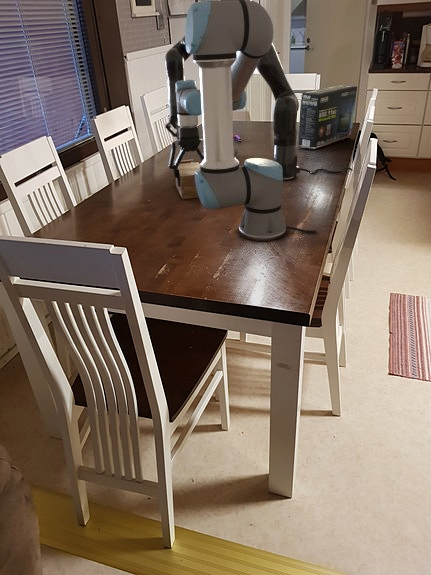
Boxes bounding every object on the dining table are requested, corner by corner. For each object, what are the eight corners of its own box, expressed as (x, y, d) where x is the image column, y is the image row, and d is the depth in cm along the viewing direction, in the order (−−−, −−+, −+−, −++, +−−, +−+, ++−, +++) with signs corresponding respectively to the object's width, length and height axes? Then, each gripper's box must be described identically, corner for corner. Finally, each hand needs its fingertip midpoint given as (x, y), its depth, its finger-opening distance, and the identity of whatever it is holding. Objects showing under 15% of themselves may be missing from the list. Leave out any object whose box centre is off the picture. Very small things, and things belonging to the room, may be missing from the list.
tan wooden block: (176, 186, 192) (174, 164, 188) (199, 183, 194) (198, 162, 189) (182, 199, 179) (180, 176, 174) (207, 196, 181) (206, 173, 176)
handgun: (221, 135, 268) (221, 132, 267) (234, 134, 269) (234, 130, 268) (228, 143, 251) (228, 140, 250) (242, 142, 252) (242, 138, 251)
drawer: (172, 174, 203) (171, 158, 200) (191, 172, 205) (190, 156, 201) (179, 189, 186) (178, 171, 183) (200, 186, 188) (200, 169, 184)
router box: (314, 151, 231) (318, 94, 217) (296, 148, 237) (299, 92, 224) (352, 138, 251) (358, 85, 238) (335, 135, 258) (340, 83, 245)
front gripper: (215, 121, 175) (217, 178, 187) (157, 126, 171) (162, 184, 183) (220, 125, 169) (222, 183, 180) (159, 130, 165) (165, 190, 176)
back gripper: (192, 100, 191) (194, 142, 200) (160, 102, 189) (164, 145, 198) (195, 103, 185) (197, 146, 194) (163, 105, 183) (166, 149, 192)
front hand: (192, 184), depth 181 cm, fingers closed on tan wooden block, 10 cm apart
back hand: (181, 146), depth 196 cm, fingers closed
